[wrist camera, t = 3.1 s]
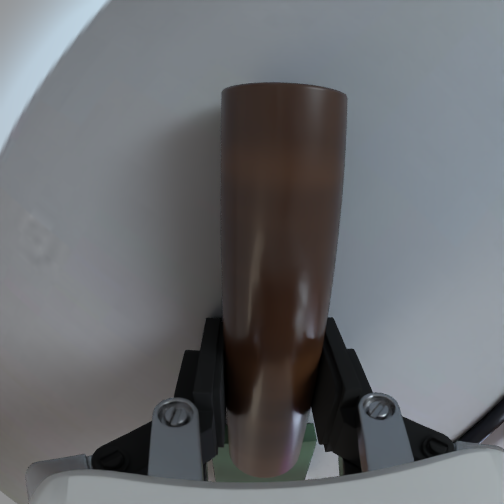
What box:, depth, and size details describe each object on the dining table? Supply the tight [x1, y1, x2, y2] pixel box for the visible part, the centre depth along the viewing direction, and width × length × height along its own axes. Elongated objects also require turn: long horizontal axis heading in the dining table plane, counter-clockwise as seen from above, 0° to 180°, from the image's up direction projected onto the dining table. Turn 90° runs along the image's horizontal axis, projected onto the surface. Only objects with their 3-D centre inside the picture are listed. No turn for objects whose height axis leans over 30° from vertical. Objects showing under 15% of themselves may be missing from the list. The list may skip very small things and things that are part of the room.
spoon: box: [458, 399, 504, 444], centre depth 16 cm, size 20×6×1 cm, turn 144°
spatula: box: [212, 82, 347, 483], centre depth 11 cm, size 20×5×3 cm, turn 179°
